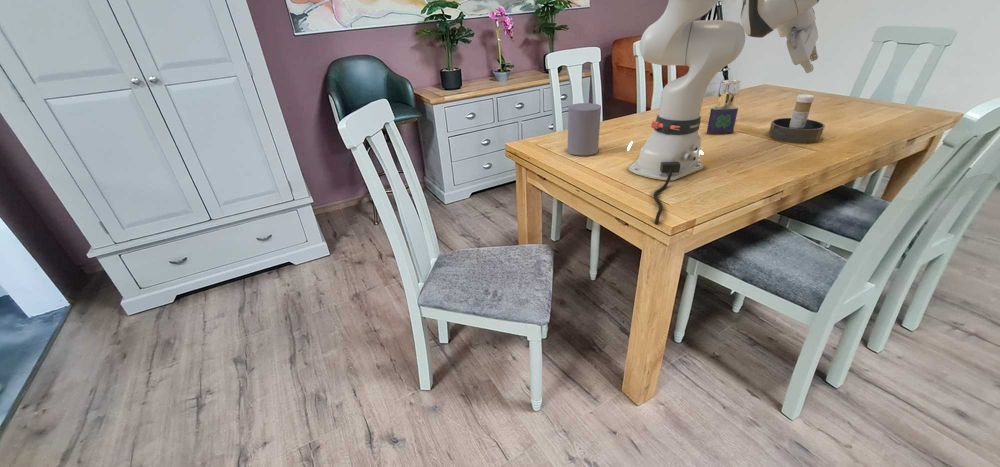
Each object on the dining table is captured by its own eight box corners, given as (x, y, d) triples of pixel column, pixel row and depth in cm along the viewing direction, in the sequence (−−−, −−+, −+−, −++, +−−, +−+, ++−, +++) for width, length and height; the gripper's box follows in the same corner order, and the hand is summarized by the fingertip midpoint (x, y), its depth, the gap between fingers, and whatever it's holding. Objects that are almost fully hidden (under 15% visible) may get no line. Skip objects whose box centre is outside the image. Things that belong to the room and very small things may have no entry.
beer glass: (708, 120, 165) (716, 81, 157) (723, 118, 166) (731, 79, 159) (721, 124, 159) (730, 83, 151) (736, 122, 160) (745, 81, 153)
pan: (814, 146, 133) (818, 132, 130) (762, 138, 142) (765, 125, 140) (825, 134, 141) (829, 121, 139) (775, 128, 151) (779, 115, 149)
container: (573, 145, 147) (574, 102, 140) (601, 148, 143) (604, 104, 135) (562, 154, 139) (563, 109, 132) (592, 157, 135) (595, 111, 127)
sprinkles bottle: (794, 133, 144) (806, 93, 137) (805, 136, 140) (818, 95, 133) (782, 134, 143) (794, 94, 137) (793, 138, 139) (806, 97, 133)
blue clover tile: (731, 131, 151) (737, 101, 145) (734, 133, 148) (741, 103, 143) (705, 132, 151) (710, 102, 146) (708, 135, 149) (714, 104, 144)
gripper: (802, 28, 111) (820, 73, 115) (813, 6, 122) (829, 48, 126) (776, 40, 116) (794, 83, 120) (789, 18, 127) (805, 58, 131)
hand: (812, 65), depth 123 cm, fingers open, 8 cm apart
